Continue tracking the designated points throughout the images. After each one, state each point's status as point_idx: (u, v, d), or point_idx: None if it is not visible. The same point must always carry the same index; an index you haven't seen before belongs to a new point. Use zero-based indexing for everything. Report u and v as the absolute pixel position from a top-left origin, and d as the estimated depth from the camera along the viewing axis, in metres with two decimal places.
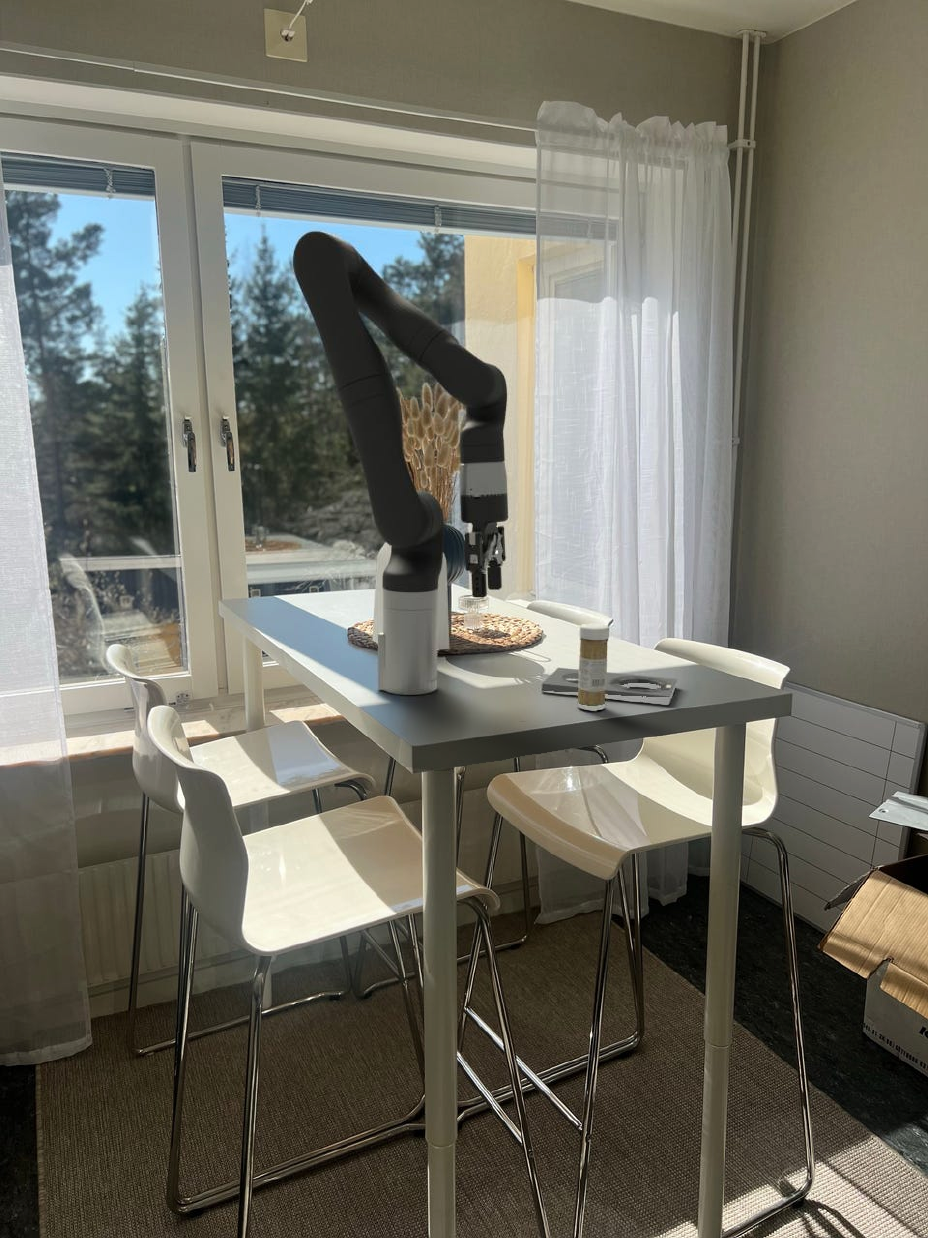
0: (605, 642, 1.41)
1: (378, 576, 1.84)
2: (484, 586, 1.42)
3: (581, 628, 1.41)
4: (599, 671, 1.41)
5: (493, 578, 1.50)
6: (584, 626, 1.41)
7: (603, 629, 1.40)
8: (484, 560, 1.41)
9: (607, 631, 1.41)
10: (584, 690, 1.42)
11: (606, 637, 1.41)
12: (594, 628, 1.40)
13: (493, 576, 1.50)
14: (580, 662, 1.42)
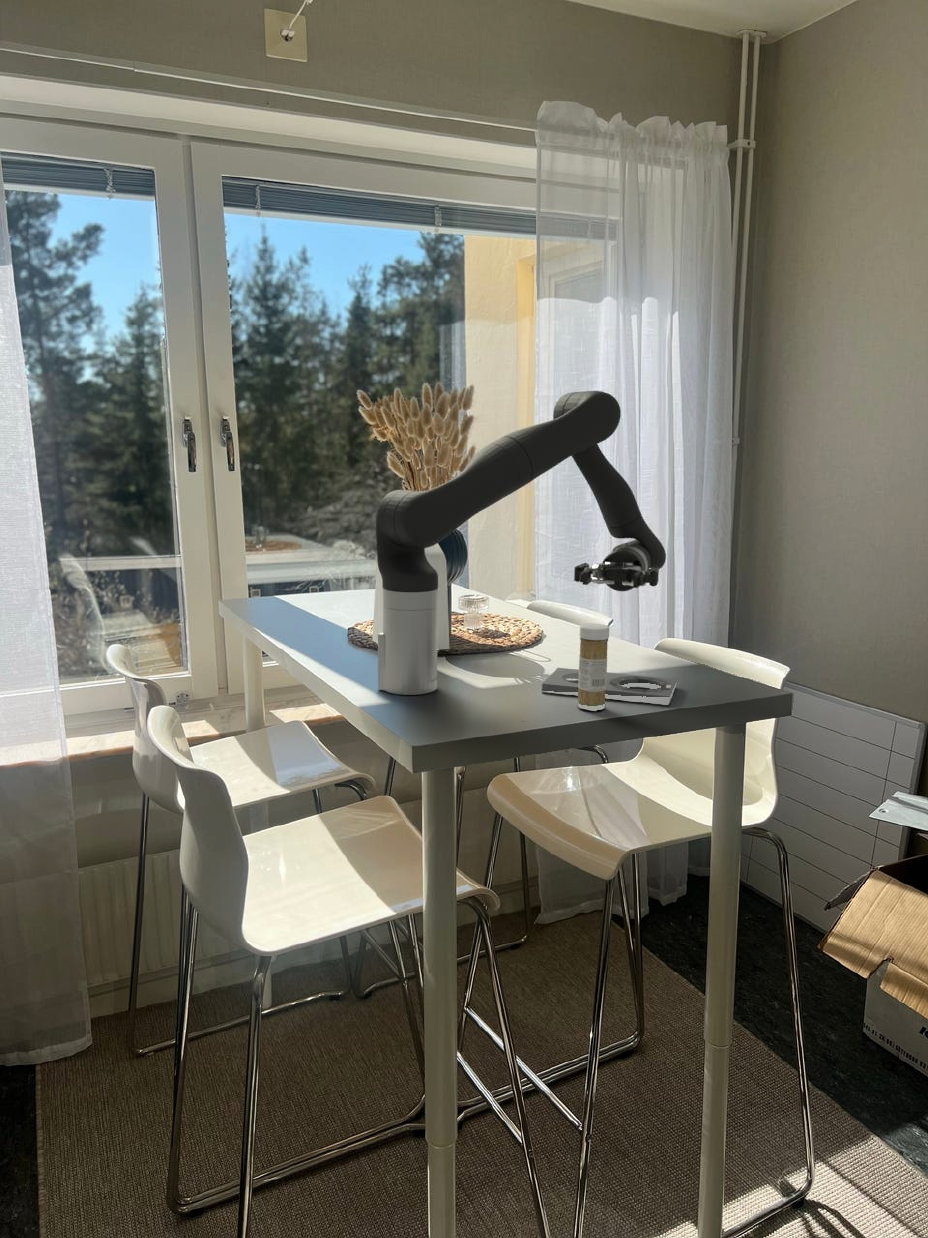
0: (605, 642, 1.41)
1: (378, 576, 1.84)
2: (638, 585, 1.52)
3: (581, 628, 1.41)
4: (599, 671, 1.41)
5: (588, 577, 1.55)
6: (584, 626, 1.41)
7: (603, 629, 1.40)
8: None
9: (607, 631, 1.41)
10: (584, 690, 1.42)
11: (606, 637, 1.41)
12: (594, 628, 1.40)
13: (589, 576, 1.55)
14: (580, 662, 1.42)
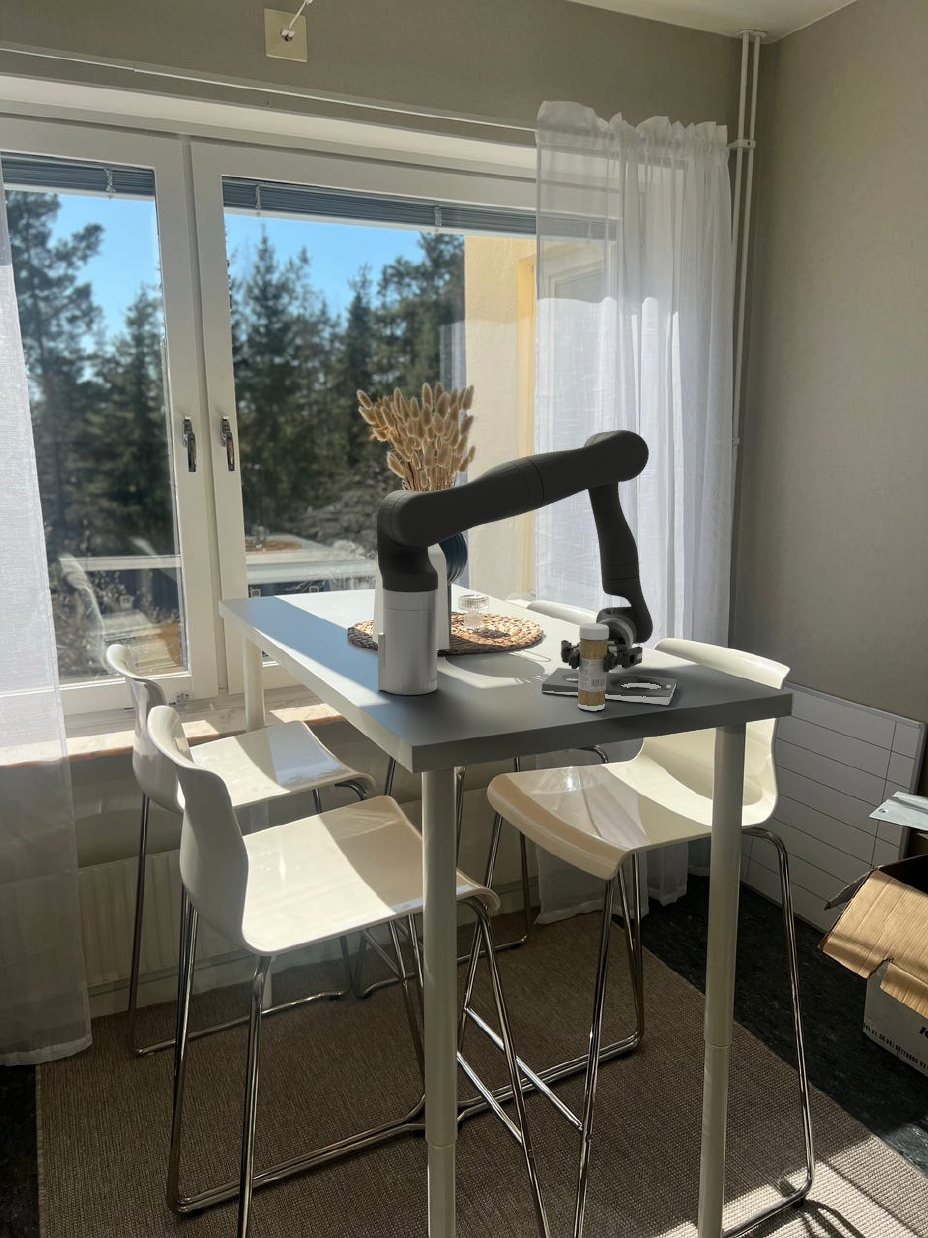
0: (605, 642, 1.41)
1: (378, 576, 1.84)
2: (609, 669, 1.41)
3: (581, 628, 1.41)
4: (599, 671, 1.41)
5: (578, 660, 1.43)
6: (584, 626, 1.41)
7: (603, 629, 1.40)
8: None
9: (607, 631, 1.41)
10: (584, 690, 1.42)
11: (606, 637, 1.41)
12: (594, 628, 1.40)
13: (578, 659, 1.43)
14: (580, 662, 1.42)
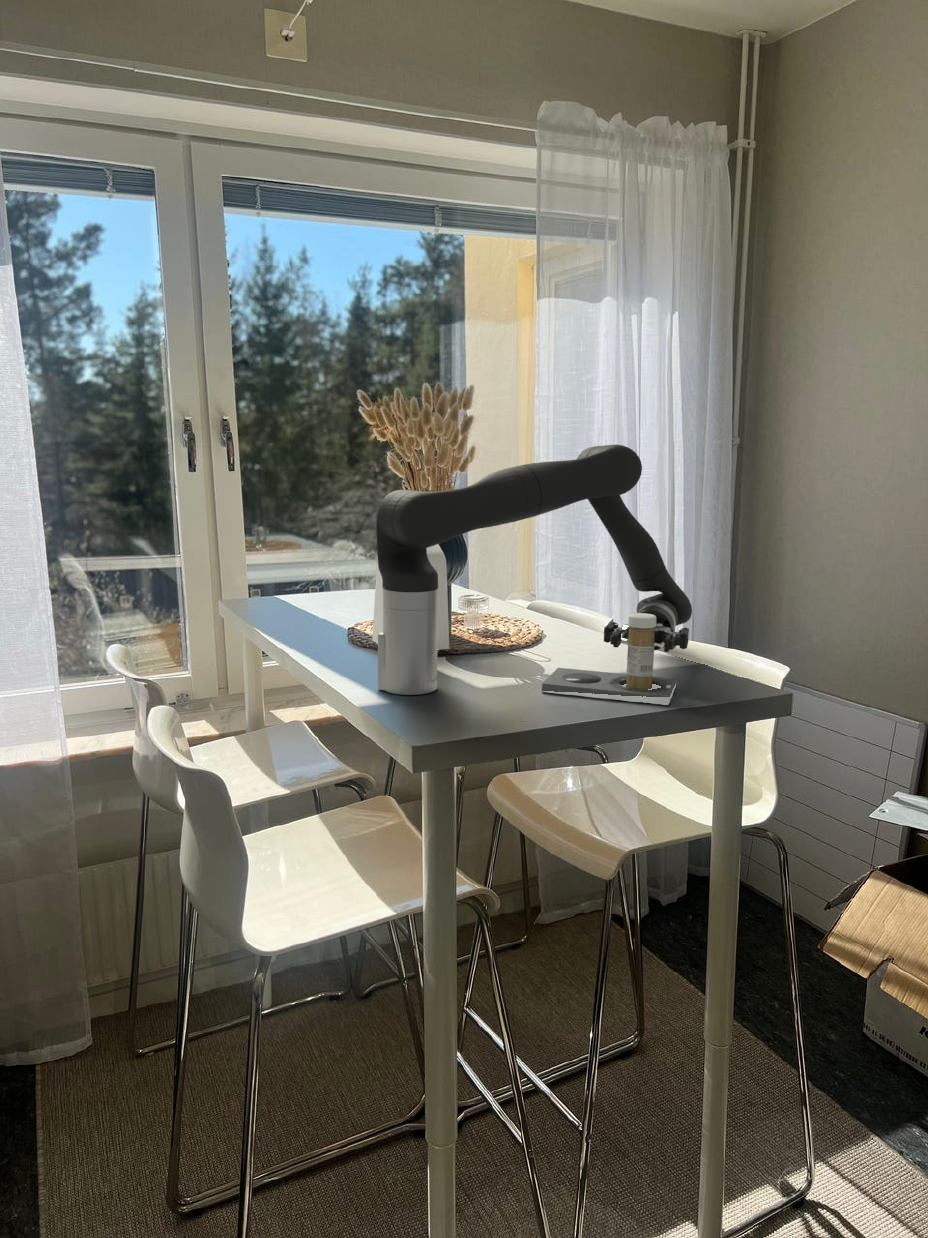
0: (653, 630, 1.51)
1: (378, 576, 1.84)
2: (669, 649, 1.51)
3: (630, 617, 1.51)
4: (647, 658, 1.51)
5: (619, 639, 1.53)
6: (633, 615, 1.51)
7: (651, 618, 1.50)
8: None
9: (654, 620, 1.50)
10: (632, 675, 1.52)
11: (654, 625, 1.50)
12: (642, 617, 1.50)
13: (619, 638, 1.53)
14: (629, 649, 1.52)
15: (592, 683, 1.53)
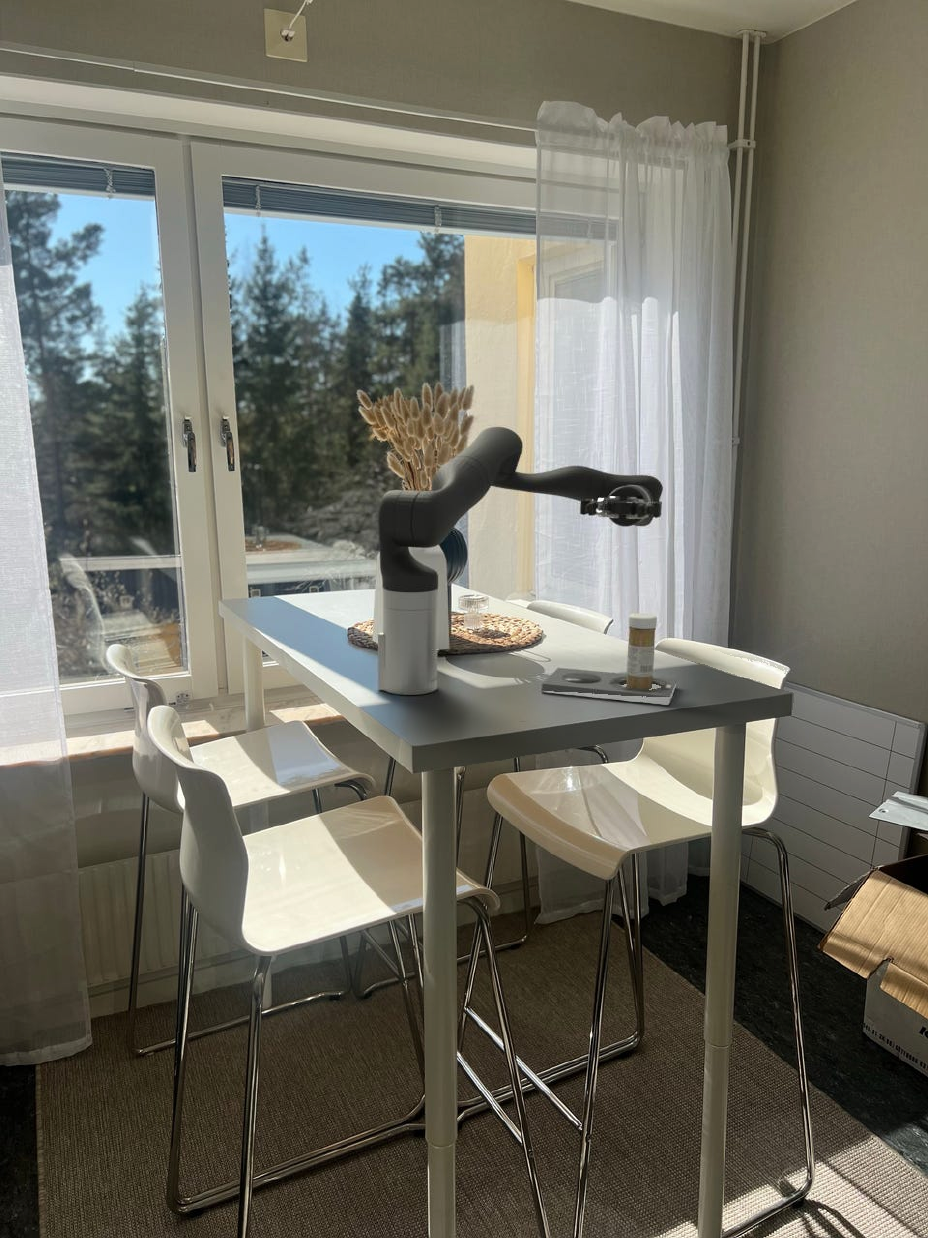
0: (653, 631, 1.50)
1: (378, 576, 1.84)
2: (642, 516, 1.58)
3: (630, 617, 1.51)
4: (647, 658, 1.51)
5: (594, 508, 1.61)
6: (633, 616, 1.51)
7: (651, 618, 1.50)
8: None
9: (655, 620, 1.50)
10: (632, 675, 1.52)
11: (654, 626, 1.50)
12: (643, 617, 1.49)
13: (594, 508, 1.61)
14: (629, 649, 1.52)
15: (592, 683, 1.53)
